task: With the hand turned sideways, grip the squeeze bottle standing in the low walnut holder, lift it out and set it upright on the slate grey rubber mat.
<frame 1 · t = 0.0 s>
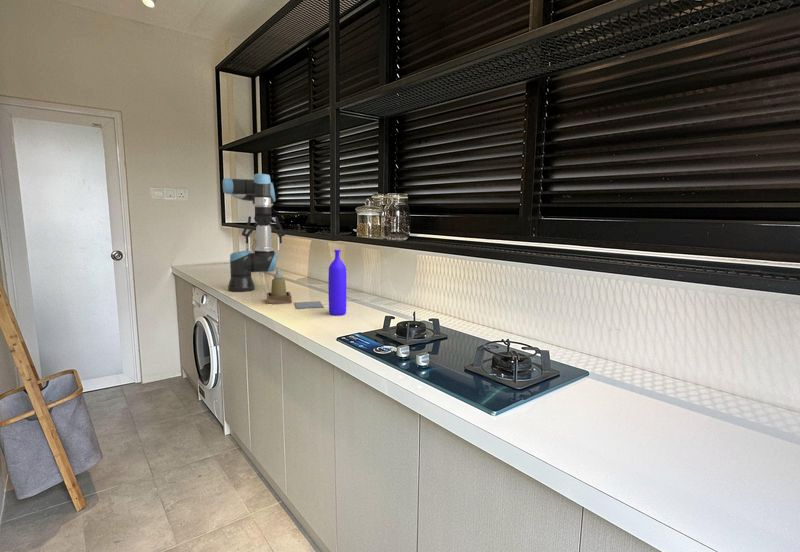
hand: (264, 250, 204), 28 cm above the worktop, tool pointing down, fingers open, 13 cm apart
mat: (308, 305, 210), on the worktop
bottle: (337, 314, 194), on the worktop
squeeze bottle: (279, 302, 218), resting in holder
holder: (279, 301, 218), on the worktop
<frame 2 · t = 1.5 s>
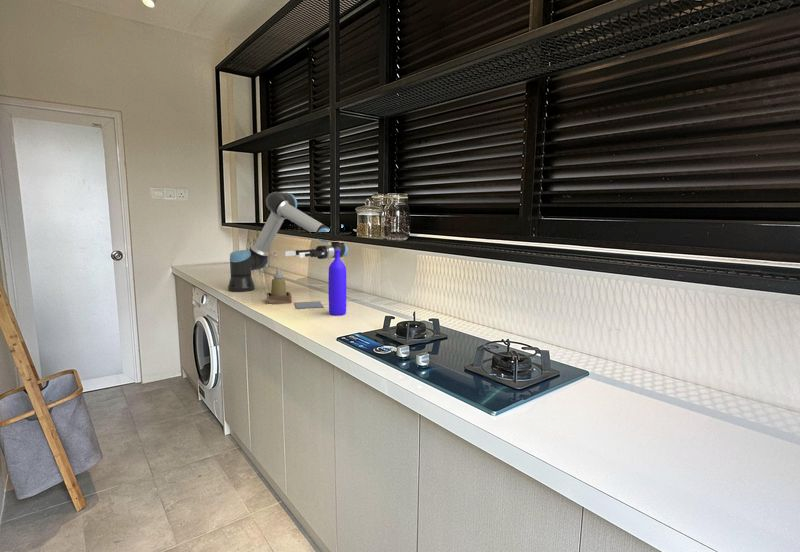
hand: (291, 254, 221), 24 cm above the worktop, tool horizontal, fingers open, 13 cm apart
nothing on the worktop moved.
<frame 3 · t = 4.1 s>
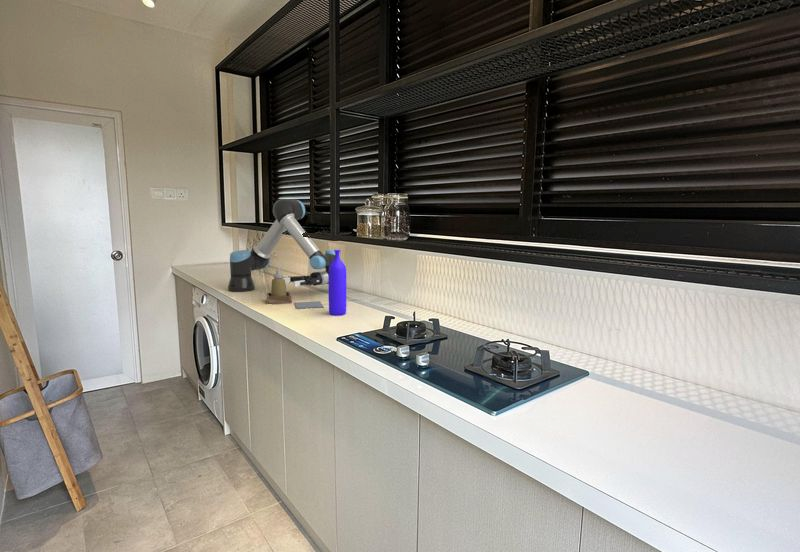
hand: (286, 282, 219), 10 cm above the worktop, tool horizontal, fingers open, 13 cm apart
nothing on the worktop moved.
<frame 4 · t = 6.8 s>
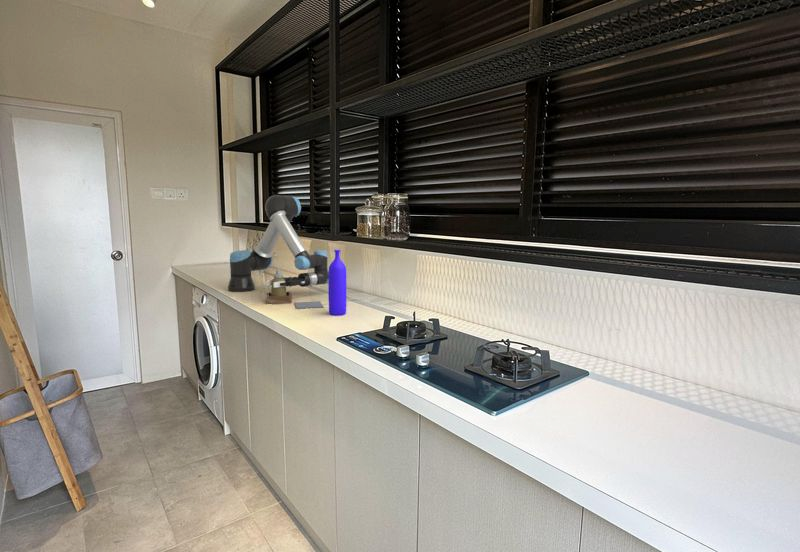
hand: (269, 284, 213), 10 cm above the worktop, tool horizontal, fingers closed on squeeze bottle, 6 cm apart
squeeze bottle: (279, 302, 218), resting in holder, touching gripper
everything else where it was.
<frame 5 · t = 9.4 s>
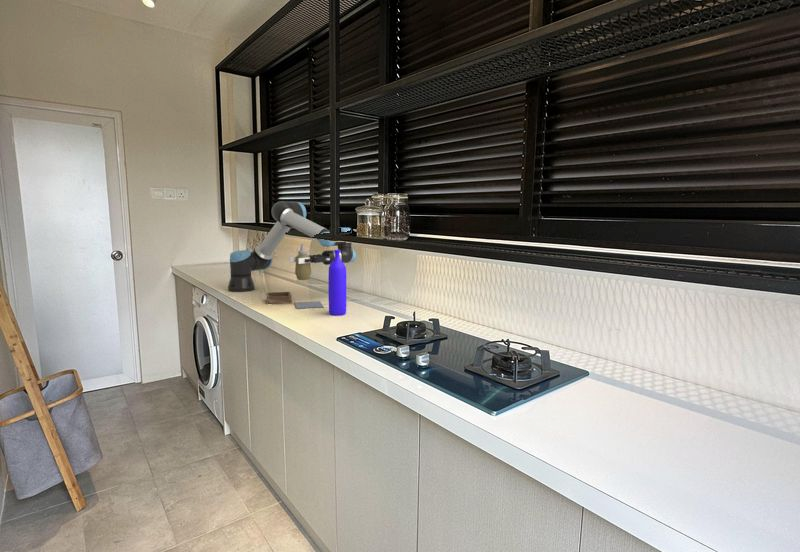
hand: (294, 260, 204), 23 cm above the worktop, tool horizontal, fingers closed on squeeze bottle, 6 cm apart
squeeze bottle: (303, 279, 209), point 13 cm above the worktop, touching gripper
everything else where it was.
when the fingers open (12 cm above the worktop, at t = 12.4 s): squeeze bottle drops 1 cm, resting on mat.
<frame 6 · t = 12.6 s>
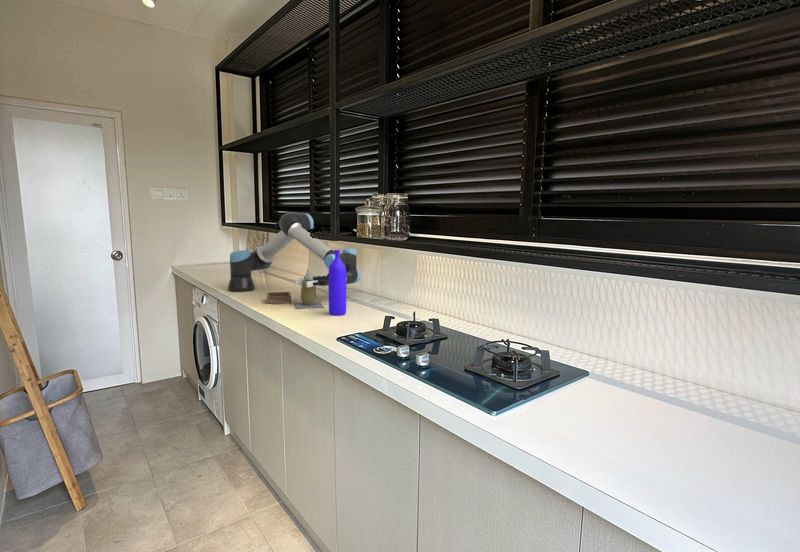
hand: (300, 283, 205), 12 cm above the worktop, tool horizontal, fingers open, 9 cm apart
squeeze bottle: (308, 304, 210), resting on mat
everything else where it was.
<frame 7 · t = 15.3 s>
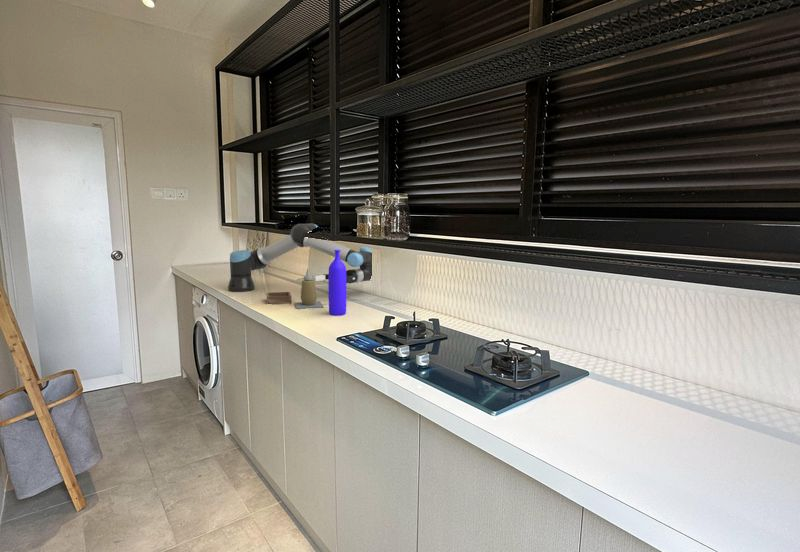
hand: (323, 280, 215), 12 cm above the worktop, tool horizontal, fingers open, 13 cm apart
nothing on the worktop moved.
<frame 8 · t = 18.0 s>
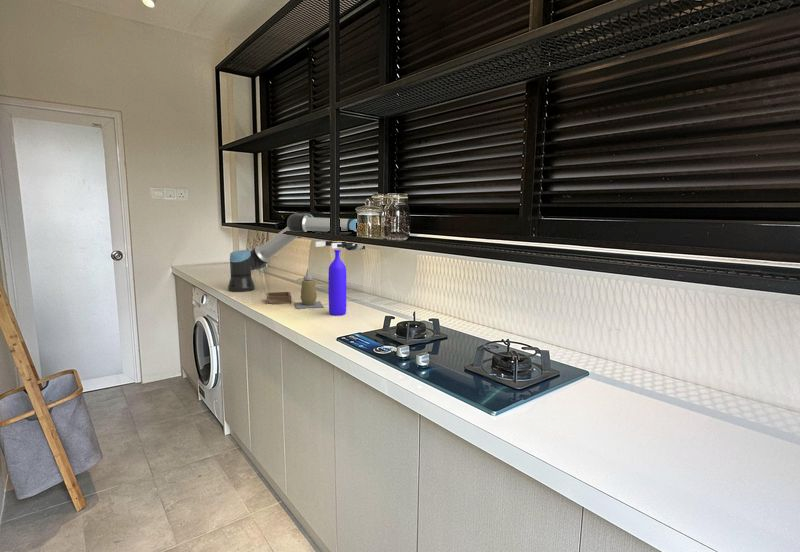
hand: (323, 245, 218), 30 cm above the worktop, tool horizontal, fingers open, 13 cm apart
nothing on the worktop moved.
at the end: squeeze bottle inside the target area on the mat (0.1 cm from its centre), point 0.4 cm above the mat's base; squeeze bottle tilted 0°; the gripper is holding nothing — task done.
